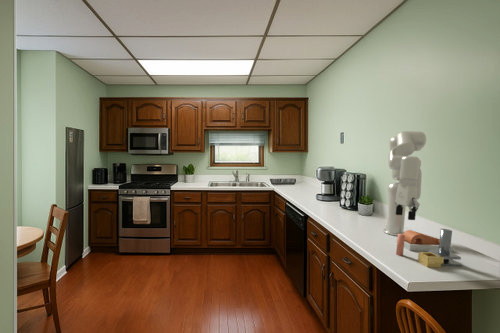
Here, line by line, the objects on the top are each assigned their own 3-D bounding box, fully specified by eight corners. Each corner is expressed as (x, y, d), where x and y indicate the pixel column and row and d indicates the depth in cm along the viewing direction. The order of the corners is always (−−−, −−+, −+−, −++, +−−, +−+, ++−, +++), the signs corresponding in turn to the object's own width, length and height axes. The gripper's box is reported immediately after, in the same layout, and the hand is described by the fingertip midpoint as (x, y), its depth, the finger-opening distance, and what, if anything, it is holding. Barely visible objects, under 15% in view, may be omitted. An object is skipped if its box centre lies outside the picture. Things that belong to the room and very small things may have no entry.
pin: (394, 253, 139) (396, 233, 138) (400, 253, 139) (402, 233, 138) (398, 255, 136) (400, 235, 135) (404, 255, 136) (406, 235, 135)
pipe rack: (396, 242, 156) (396, 237, 155) (436, 244, 157) (437, 238, 157) (409, 250, 144) (410, 244, 144) (453, 251, 146) (453, 246, 146)
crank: (410, 249, 147) (411, 234, 147) (401, 243, 155) (402, 229, 155) (447, 250, 148) (448, 235, 148) (436, 245, 156) (437, 231, 155)
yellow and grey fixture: (409, 256, 136) (412, 226, 135) (445, 257, 137) (448, 227, 136) (427, 267, 124) (430, 233, 123) (465, 268, 125) (469, 235, 124)
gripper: (390, 179, 143) (387, 212, 144) (412, 184, 126) (408, 221, 127) (404, 180, 143) (401, 213, 144) (428, 184, 126) (424, 222, 127)
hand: (404, 217), depth 136 cm, fingers open, 9 cm apart
